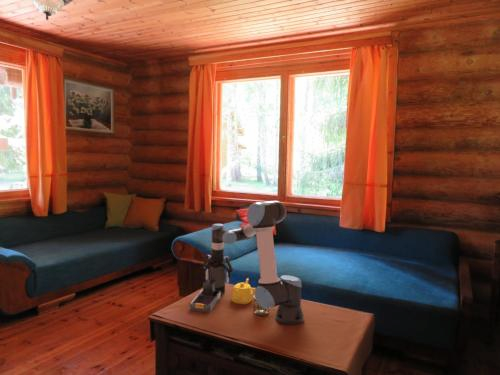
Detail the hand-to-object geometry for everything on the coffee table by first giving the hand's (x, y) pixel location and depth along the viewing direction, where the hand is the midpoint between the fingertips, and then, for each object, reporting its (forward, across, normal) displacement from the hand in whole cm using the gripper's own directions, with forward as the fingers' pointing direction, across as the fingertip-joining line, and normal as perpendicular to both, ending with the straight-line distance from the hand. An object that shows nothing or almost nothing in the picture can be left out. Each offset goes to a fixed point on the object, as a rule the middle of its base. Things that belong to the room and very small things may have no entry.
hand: (217, 281), depth 231 cm
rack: (+8, +2, +17) cm, 19 cm away
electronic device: (+8, 0, 0) cm, 8 cm away
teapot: (+8, -19, +7) cm, 22 cm away
